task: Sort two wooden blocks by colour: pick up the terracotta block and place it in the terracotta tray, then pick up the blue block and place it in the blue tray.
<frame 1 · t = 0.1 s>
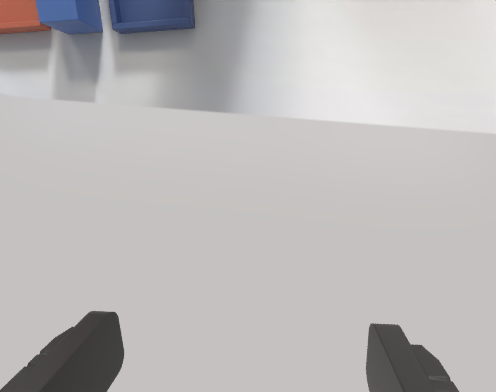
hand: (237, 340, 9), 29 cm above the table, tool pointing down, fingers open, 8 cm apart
blue block: (82, 12, 35), on the table
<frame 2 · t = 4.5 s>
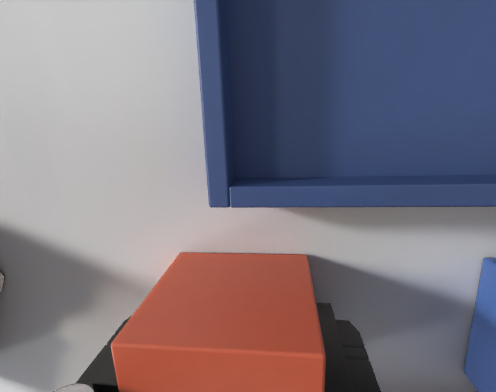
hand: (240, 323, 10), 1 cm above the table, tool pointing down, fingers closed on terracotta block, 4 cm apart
terracotta block: (244, 308, 11), on the table, touching gripper
blue tray: (451, 24, 8), on the table
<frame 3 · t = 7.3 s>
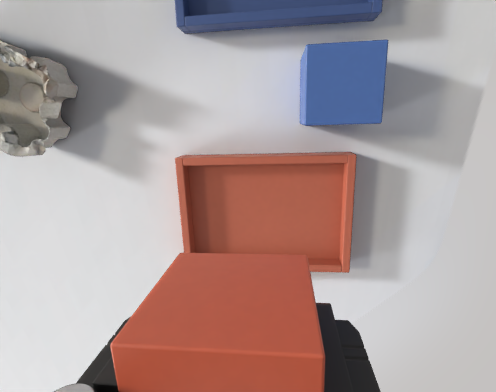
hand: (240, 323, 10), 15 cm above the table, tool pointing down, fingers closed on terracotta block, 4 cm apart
terracotta block: (244, 308, 11), point 14 cm above the table, touching gripper
egg carton: (17, 92, 24), on the table
terracotta tray: (264, 209, 24), on the table
blue block: (331, 91, 21), on the table
when the fingers open (1 cm above the table, at t = 10.6 s): terracotta block stays where it is, resting on terracotta tray.
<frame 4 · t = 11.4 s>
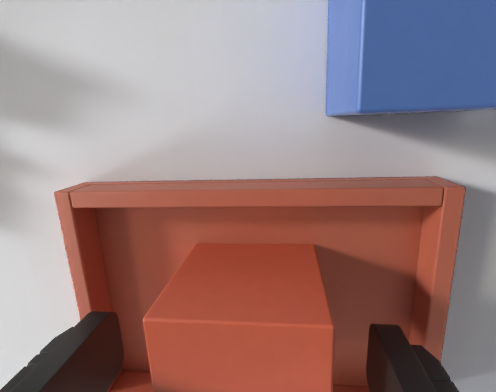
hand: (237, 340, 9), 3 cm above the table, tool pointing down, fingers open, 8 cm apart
terracotta block: (255, 296, 12), resting on terracotta tray
terracotta tray: (252, 289, 12), on the table
blue block: (399, 39, 9), on the table
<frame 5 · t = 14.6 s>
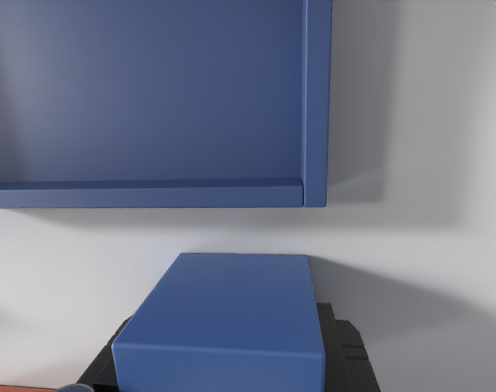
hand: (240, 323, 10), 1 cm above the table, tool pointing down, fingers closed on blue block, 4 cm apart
blue tray: (103, 49, 9), on the table
blue block: (244, 308, 11), on the table, touching gripper
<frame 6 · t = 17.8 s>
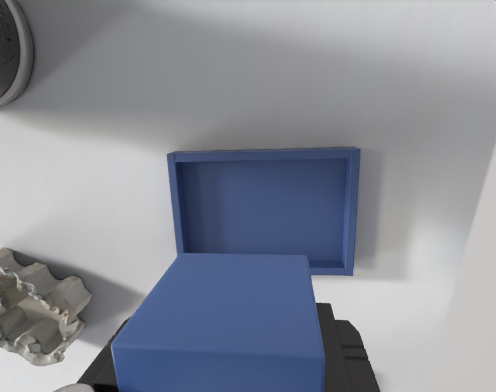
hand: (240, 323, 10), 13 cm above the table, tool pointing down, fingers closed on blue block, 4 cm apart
egg carton: (39, 292, 27), on the table
blue tray: (262, 209, 23), on the table
blue block: (244, 308, 11), point 12 cm above the table, touching gripper
when the fingers open (1 cm above the table, at t = 20.9 s): blue block stays where it is, resting on blue tray.
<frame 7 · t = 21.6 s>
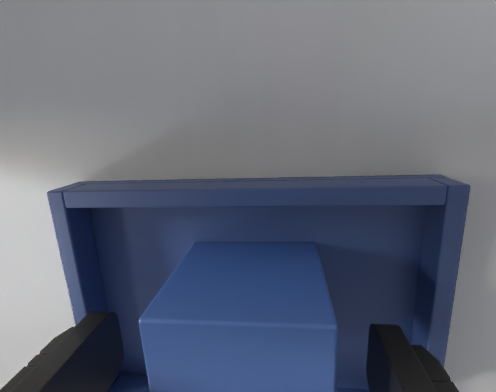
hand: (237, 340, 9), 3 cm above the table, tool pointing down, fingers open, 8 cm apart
blue tray: (251, 290, 12), on the table
blue block: (256, 295, 11), resting on blue tray
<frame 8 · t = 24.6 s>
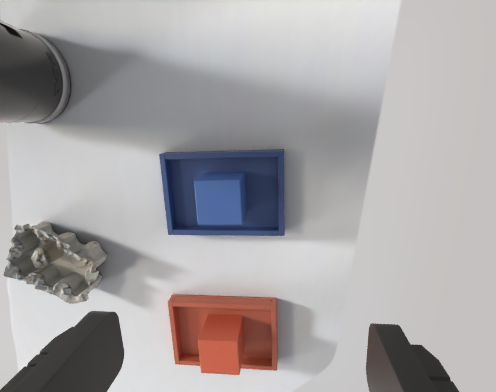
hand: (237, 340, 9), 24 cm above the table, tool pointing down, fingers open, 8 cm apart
terracotta block: (226, 330, 37), resting on terracotta tray
egg carton: (68, 254, 38), on the table
blue tray: (225, 191, 33), on the table
terracotta tray: (225, 327, 38), on the table
blue block: (226, 192, 33), resting on blue tray
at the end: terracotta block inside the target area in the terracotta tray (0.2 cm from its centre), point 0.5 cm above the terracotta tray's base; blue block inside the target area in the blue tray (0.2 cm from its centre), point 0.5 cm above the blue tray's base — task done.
